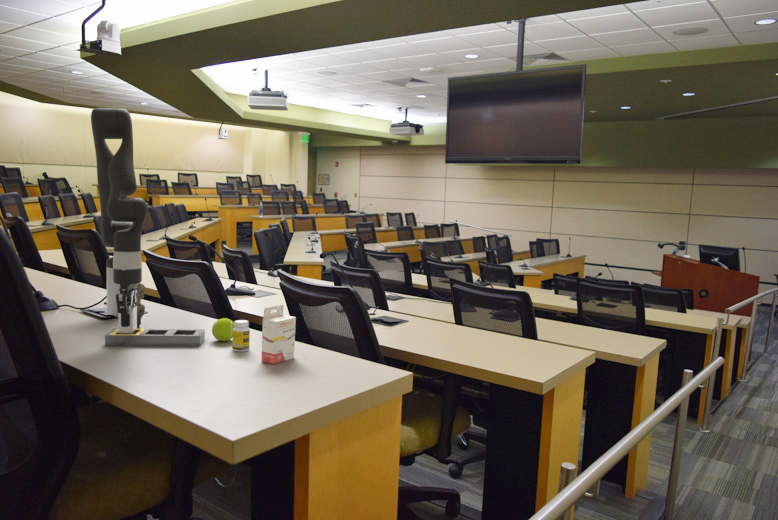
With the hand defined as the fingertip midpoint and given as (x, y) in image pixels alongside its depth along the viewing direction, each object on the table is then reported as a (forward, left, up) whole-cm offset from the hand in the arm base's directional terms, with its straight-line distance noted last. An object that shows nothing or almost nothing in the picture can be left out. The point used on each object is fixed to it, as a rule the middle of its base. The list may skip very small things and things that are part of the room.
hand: (127, 324), depth 163 cm
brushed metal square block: (0, 0, -4) cm, 4 cm away
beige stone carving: (-19, -3, -6) cm, 20 cm away
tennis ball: (-2, +27, -6) cm, 28 cm away
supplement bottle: (+8, +33, -6) cm, 34 cm away
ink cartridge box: (+18, +44, -6) cm, 48 cm away
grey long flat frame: (0, +8, -5) cm, 10 cm away
